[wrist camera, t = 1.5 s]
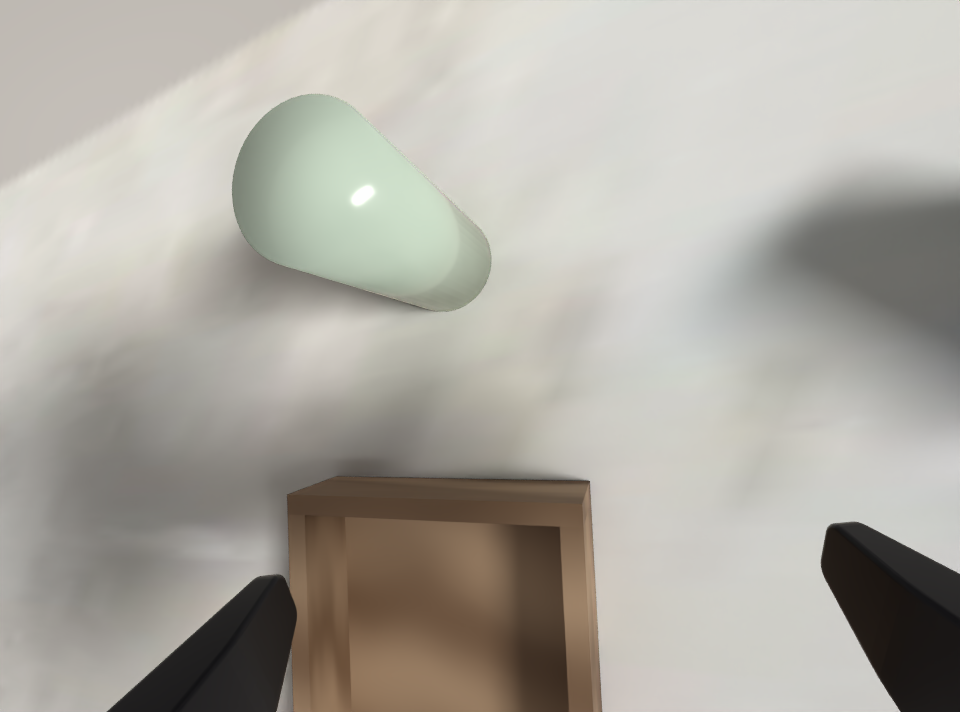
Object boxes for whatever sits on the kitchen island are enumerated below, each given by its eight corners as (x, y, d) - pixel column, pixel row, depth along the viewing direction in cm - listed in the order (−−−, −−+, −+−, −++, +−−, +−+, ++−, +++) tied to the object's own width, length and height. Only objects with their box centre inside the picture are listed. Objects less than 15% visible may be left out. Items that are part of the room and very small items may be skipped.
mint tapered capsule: (493, 307, 21) (383, 256, 12) (401, 315, 22) (234, 275, 13) (488, 207, 21) (377, 77, 12) (397, 220, 23) (230, 112, 13)
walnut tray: (607, 806, 19) (603, 898, 16) (345, 754, 23) (296, 820, 19) (589, 481, 20) (582, 503, 16) (336, 476, 23) (287, 494, 20)
